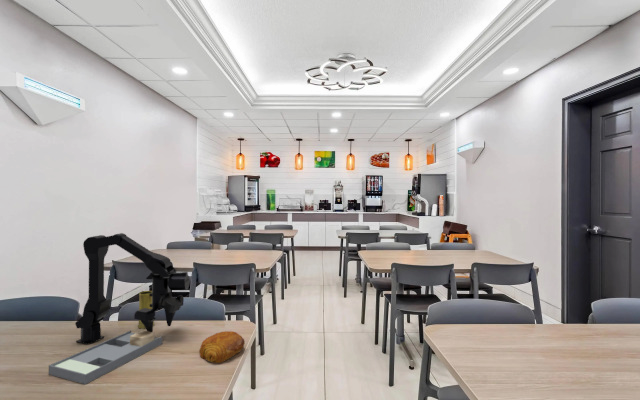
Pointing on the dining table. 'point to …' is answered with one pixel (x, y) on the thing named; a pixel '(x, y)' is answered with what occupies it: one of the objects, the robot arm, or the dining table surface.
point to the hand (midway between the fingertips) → (160, 330)
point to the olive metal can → (144, 304)
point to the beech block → (141, 338)
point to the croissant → (221, 346)
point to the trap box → (100, 359)
